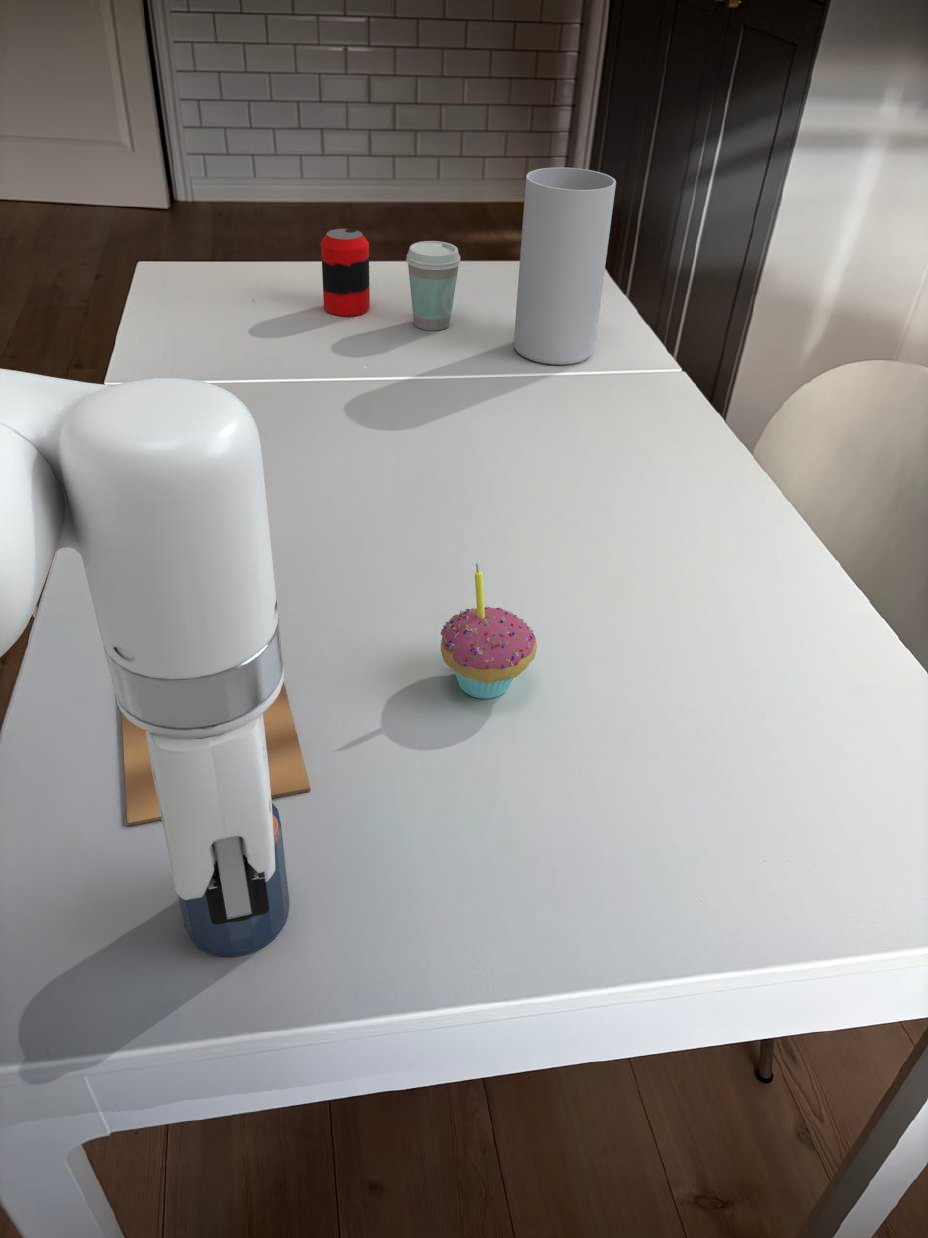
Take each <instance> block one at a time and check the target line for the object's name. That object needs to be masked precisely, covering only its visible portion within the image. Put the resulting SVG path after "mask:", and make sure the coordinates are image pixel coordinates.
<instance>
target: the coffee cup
mask: <svg viewBox="0 0 928 1238" xmlns="http://www.w3.org/2000/svg"><path fill="white" fill-rule="evenodd" d="M405 262H406V263H407V268H408V280H409V288H410V299H411V309H412V317H413V324H414V326H415V327H416V328H418V329H421V330H424V331H431V332H432V331H436V332H437V331H442V330H446V329H448V328H449V327H450V325H451V319H452V313H453V306H454V300H455V294H456V293H455V291H456V287H457V281H458V280H457V279H458V272H459V266H460V265H461V264H462V261H461V255H460V253H459V248H458V247H457V246H456V245H454V244H452V243H449V242H445V241H438V240H424V241H418V242H415V243H412V244H411V245H410V246H409V249H408V252H407V253H406V259H405Z"/></svg>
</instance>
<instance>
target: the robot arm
mask: <svg viewBox="0 0 928 1238" xmlns="http://www.w3.org/2000/svg"><path fill="white" fill-rule="evenodd" d="M264 471H265V470H264V462H263V451H262V445H261V439H260V433H259V428H258V426H257V422H256V421H255V418H254V416H253V415H252V413H251V411H250V410H249V408H248V407H247V406H246V405H245V403H244V402H242V401H241V399H240V398H238V397H237V396H236V395H235V394H233V393H232V392H230V391H228V390H227V389H225V388H222V387H220V386H218V385H216V384H212V383H210V382H206V381H203V380H197V379H191V378H182V377H153V378H144V379H136V380H132V381H126V382H122V383H119V384H115V385H111V384H102V383H93V382H85V381H79V380H73V379H68V378H67V379H66V378H60V377H54V376H48V375H43V374H37V373H33V372H32V373H31V372H25V371H21V370H20V371H19V370H15V369H14V370H12V369H5V368H0V658H1V657H3V656H4V655H5V654H6V653H7V652H8V651H9V650H10V648H11V647H13V645H14V644H15V643H16V642H17V641H18V640H19V638H20V637H21V636H22V634H23V633H24V631H25V629H26V628H27V626H28V624H29V622H30V620H31V618H32V616H33V614H34V612H35V610H36V607H37V604H38V602H39V599H40V596H41V594H42V591H43V589H44V586H45V583H46V581H47V577H48V575H49V571H50V569H51V566H52V563H53V560H54V558H55V556H56V552H58V551H60V550H61V549H64V548H70V549H73V550H74V551H76V552H77V553H79V555H80V556H81V560H82V564H83V567H84V572H85V576H86V581H87V585H88V588H89V593H90V596H91V602H92V605H93V609H94V614H95V617H96V618H95V619H96V622H97V626H98V630H99V634H100V638H101V642H102V646H103V651H104V654H105V660H106V662H107V667H108V671H109V675H110V679H111V684H112V687H113V692H114V695H115V699H116V700H115V701H116V703H117V706H118V708H119V710H120V713H121V712H122V713H123V715H124V716H125V717H126V718H127V719H128V720H129V721H130V722H131V723H133V724H134V725H136V726H137V727H139V728H141V729H143V730H145V731H146V738H147V744H148V750H149V757H150V762H151V768H152V773H153V779H154V784H155V789H156V794H157V799H158V804H159V809H160V814H161V819H162V820H161V823H162V828H163V832H164V838H165V843H166V848H167V854H168V859H169V862H170V870H171V874H172V881H173V885H174V892H175V893H176V895H177V896H178V895H179V896H180V897H181V898H182V899H184V900H189V899H194V898H200V897H202V896H203V895H204V893H206V898H207V903H208V908H209V913H210V918H211V922H212V924H215V925H219V924H224V923H228V922H240V921H244V920H247V919H250V918H251V917H254V916H259V915H263V914H266V913H267V912H268V911H269V910H270V907H269V900H268V893H267V886H266V882H267V881H268V880H269V879H270V878H271V877H272V875H273V874H274V872H275V849H274V830H273V815H272V803H273V801H272V800H273V799H272V798H271V788H270V777H269V766H268V757H267V747H266V738H265V729H264V720H263V712H265V711H266V710H267V709H268V708H269V707H270V706H271V705H272V704H273V702H274V701H275V699H276V698H277V697H278V695H279V693H280V691H281V688H282V685H283V681H285V670H284V669H285V668H284V661H283V659H284V658H283V650H282V640H281V639H282V638H281V629H280V619H279V615H278V614H279V613H278V600H277V599H278V598H277V592H276V591H277V590H276V583H275V574H274V562H273V552H272V550H273V549H272V541H271V532H270V531H271V529H270V523H269V522H270V519H269V512H268V501H267V492H266V491H267V490H266V481H265V472H264Z"/></svg>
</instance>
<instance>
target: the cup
mask: <svg viewBox="0 0 928 1238" xmlns="http://www.w3.org/2000/svg"><path fill="white" fill-rule="evenodd" d="M272 814H273V815H274V816H275V817H276V819H277V821H278V839H277V841H276V843H275V845H274V849H275V872H274V874H273V875H272V877H271V878H270V879H269V880H268V881H267V882H266V886H267V893H268V900H269V907H270V910H269V911H268V912H267V913H266V914H263V915H259V916H254V917H251V918H250V919H247V920H244V921H240V922H228V923H224V924H219V925H215V924H212V922H211V918H210V913H209V908H208V903H207V898H206V893H204V895H203V896H202V897H200V898H194V899H189V900H184V899H182V898H181V897H180V896H179V895H177V897H178V902H179V906H180V907H179V908H180V911H181V915H182V920H183V926H184V928H185V931H186V933H187V936H188V937H189V939H190V940H191V941H192V942H193V944H194V945H195V946H196V947H198V948H199V949H201V950H202V951H204V952H206V953H208V954H211V955H213V956H218V957H224V958H225V957H226V958H227V957H228V958H233V957H241V956H246V955H249V954H252V953H255V952H258V951H259V950H261V949H263V948H264V947H266V946H267V945H269V944H270V943H271V942H273V940H275V939H276V938H277V936H278V935H279V934H280V933H281V932H282V931H283V929H284V926H285V925H286V923H287V921H288V917H289V912H290V897H289V896H290V895H289V888H288V887H289V886H288V877H287V868H286V867H287V865H286V858H285V848H284V847H285V846H284V838H283V830H282V829H283V828H282V823H281V817H280V812H279V809H278V808H277V806H276V804H274V803H273V802H272Z"/></svg>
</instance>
